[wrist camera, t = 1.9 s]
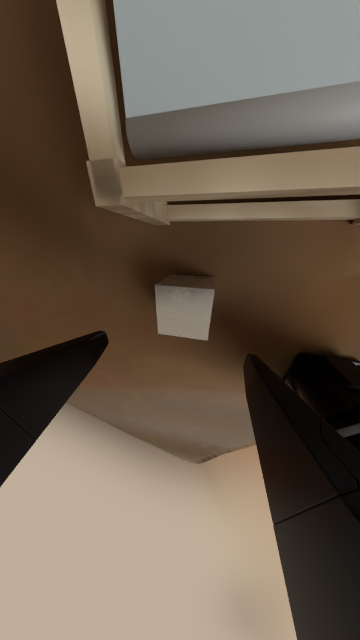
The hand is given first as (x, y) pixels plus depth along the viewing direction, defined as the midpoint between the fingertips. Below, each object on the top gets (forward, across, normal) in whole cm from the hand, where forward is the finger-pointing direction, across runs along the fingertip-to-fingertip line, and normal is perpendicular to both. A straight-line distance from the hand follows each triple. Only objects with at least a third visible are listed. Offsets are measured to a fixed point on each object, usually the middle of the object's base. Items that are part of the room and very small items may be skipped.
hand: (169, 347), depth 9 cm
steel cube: (+7, 0, 0) cm, 7 cm away
